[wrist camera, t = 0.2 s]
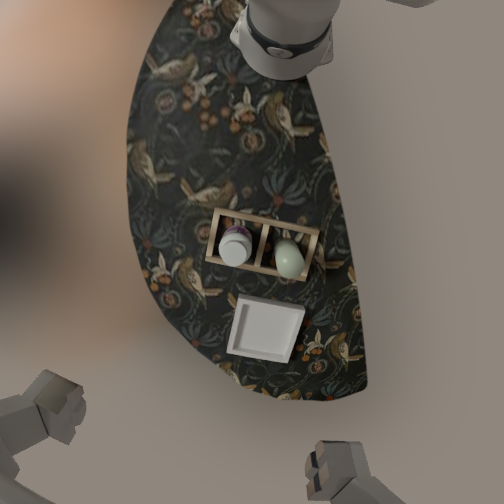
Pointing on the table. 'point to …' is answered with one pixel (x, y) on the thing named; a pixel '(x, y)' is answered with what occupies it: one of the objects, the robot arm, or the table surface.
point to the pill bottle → (235, 246)
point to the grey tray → (264, 328)
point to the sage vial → (288, 258)
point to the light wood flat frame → (261, 241)
